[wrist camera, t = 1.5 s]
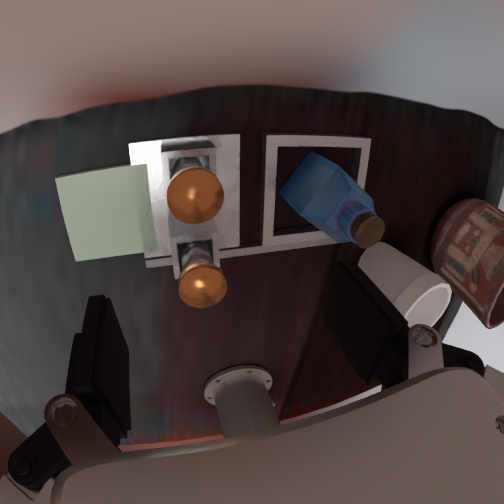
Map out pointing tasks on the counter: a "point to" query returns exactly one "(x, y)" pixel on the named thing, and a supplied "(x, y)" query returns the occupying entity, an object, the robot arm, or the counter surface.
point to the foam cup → (406, 284)
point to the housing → (230, 193)
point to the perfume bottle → (333, 202)
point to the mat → (107, 211)
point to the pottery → (472, 256)
